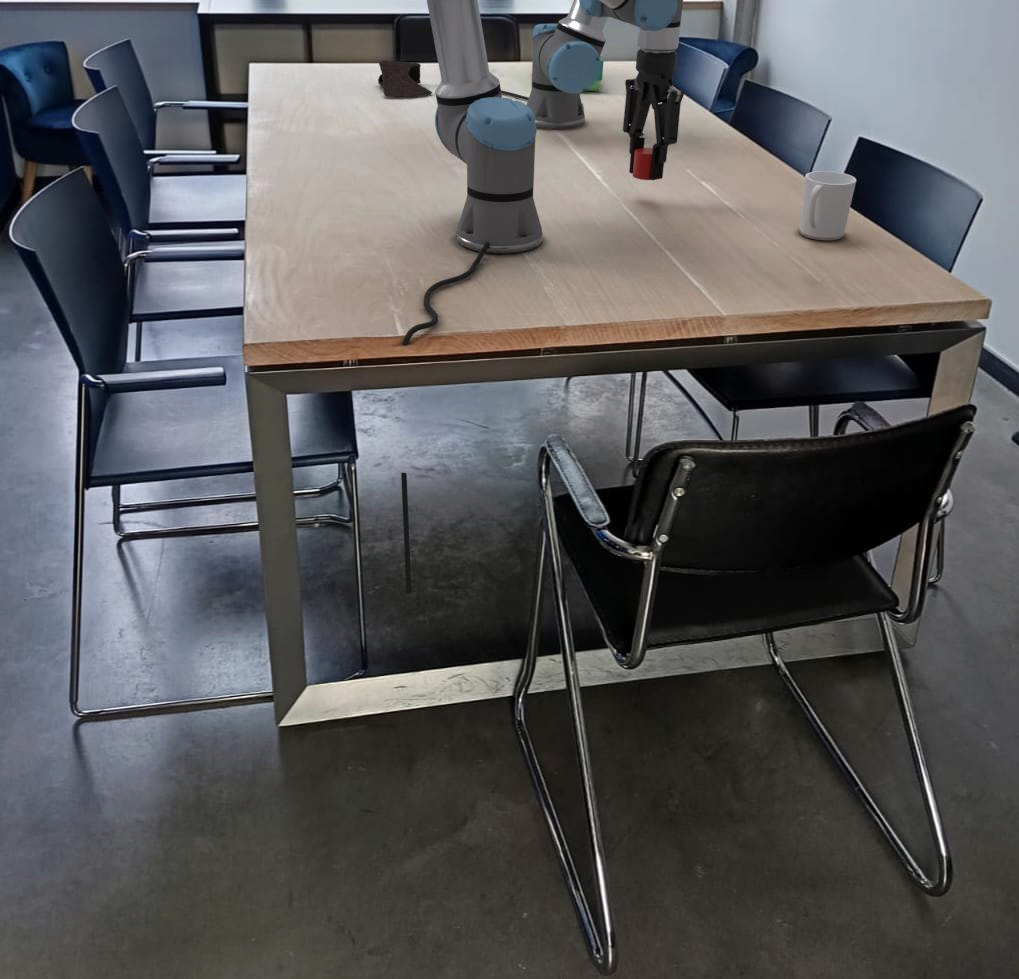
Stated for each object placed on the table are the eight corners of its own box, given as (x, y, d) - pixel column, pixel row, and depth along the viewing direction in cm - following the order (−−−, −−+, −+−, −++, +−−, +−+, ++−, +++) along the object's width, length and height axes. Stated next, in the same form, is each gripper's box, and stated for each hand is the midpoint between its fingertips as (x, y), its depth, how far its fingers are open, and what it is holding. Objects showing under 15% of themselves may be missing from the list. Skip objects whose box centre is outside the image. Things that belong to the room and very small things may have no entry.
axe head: (443, 87, 294) (392, 77, 287) (436, 115, 299) (385, 106, 292) (421, 62, 307) (371, 52, 300) (414, 89, 311) (365, 80, 304)
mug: (809, 222, 208) (818, 168, 202) (854, 233, 203) (864, 177, 197) (782, 236, 200) (791, 180, 195) (827, 247, 195) (838, 190, 190)
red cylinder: (659, 174, 217) (661, 148, 214) (658, 181, 212) (660, 154, 210) (633, 172, 217) (635, 146, 215) (631, 179, 213) (633, 153, 210)
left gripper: (707, 55, 199) (692, 183, 211) (638, 40, 211) (628, 162, 223) (678, 59, 195) (664, 189, 207) (609, 43, 207) (600, 167, 219)
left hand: (645, 175), depth 215 cm, fingers closed on red cylinder, 5 cm apart
